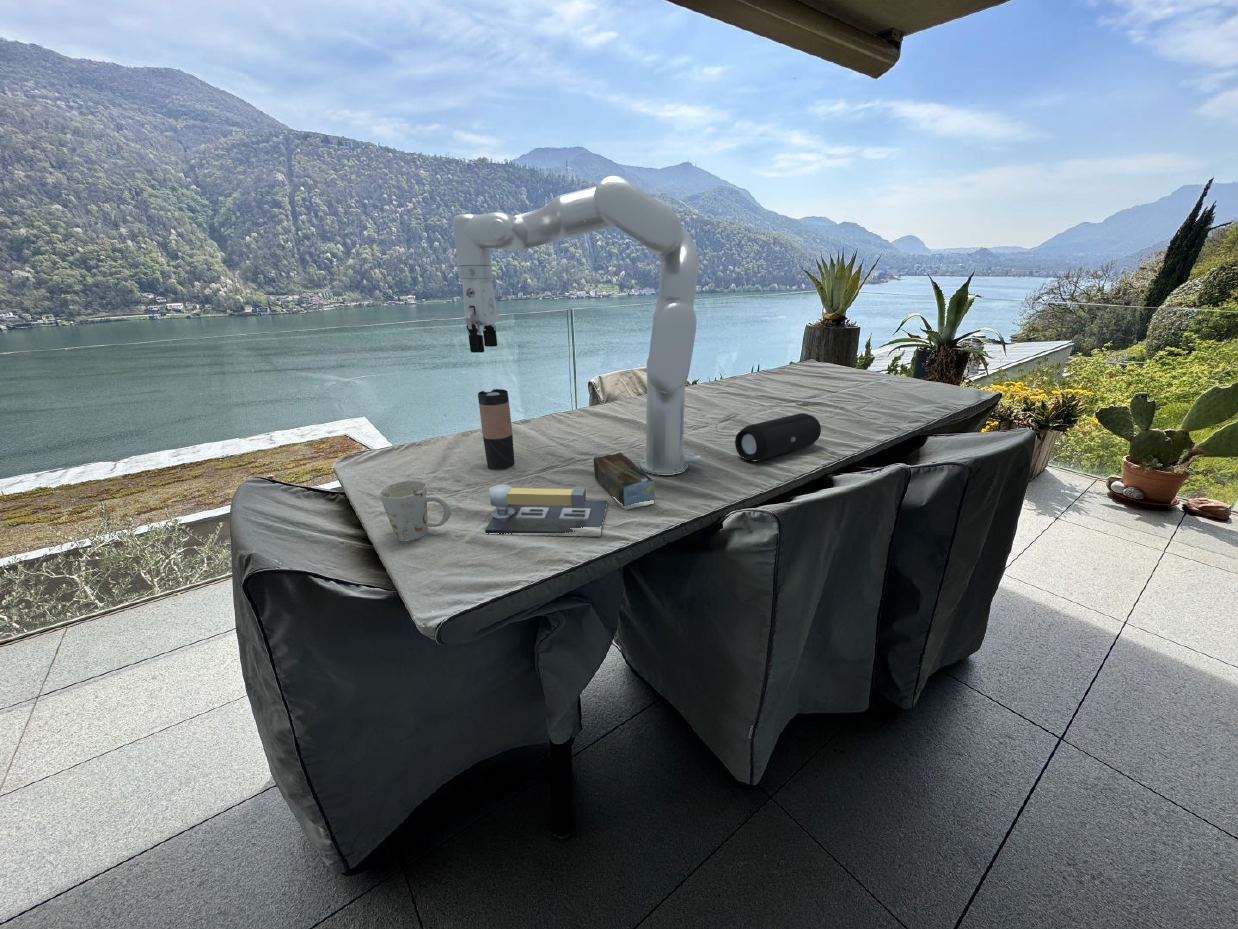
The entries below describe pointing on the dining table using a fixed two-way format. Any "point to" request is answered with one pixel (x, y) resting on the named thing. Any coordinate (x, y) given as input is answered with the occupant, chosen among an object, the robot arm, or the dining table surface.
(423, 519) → the mug
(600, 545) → the dining table surface
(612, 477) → the beverage carton
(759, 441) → the portable speaker
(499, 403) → the travel mug
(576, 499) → the swing arm
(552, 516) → the chassis
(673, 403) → the robot arm
